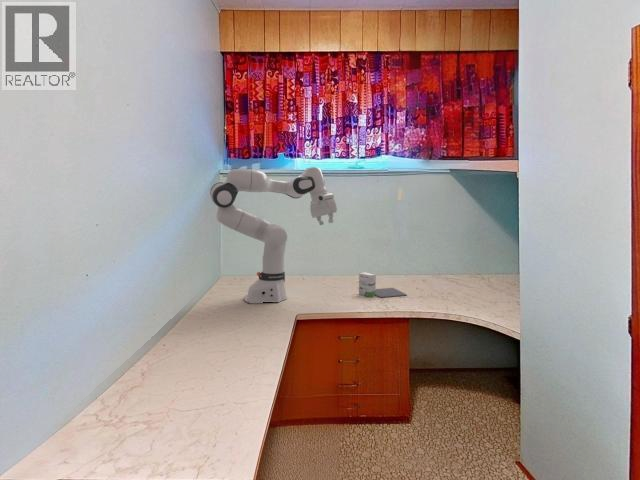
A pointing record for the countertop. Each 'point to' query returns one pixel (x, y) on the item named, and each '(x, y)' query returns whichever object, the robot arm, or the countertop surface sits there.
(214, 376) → the countertop surface
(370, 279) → the ink box
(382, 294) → the mat
